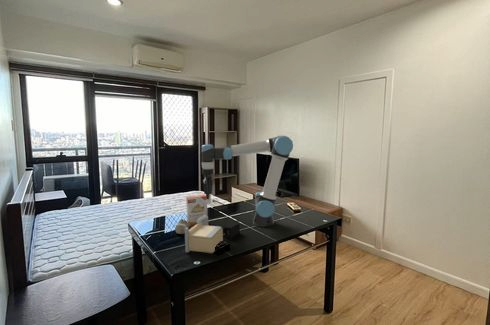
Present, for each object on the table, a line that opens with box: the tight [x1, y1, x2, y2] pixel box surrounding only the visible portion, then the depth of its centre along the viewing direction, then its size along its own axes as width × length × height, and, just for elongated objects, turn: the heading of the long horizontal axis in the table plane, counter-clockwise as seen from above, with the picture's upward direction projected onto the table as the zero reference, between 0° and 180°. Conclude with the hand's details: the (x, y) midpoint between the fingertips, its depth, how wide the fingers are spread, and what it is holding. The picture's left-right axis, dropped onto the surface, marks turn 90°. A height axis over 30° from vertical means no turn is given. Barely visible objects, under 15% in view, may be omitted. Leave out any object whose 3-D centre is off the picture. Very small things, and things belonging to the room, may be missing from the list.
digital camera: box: [223, 221, 241, 240], centre depth 164 cm, size 10×5×7 cm, turn 147°
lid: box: [189, 222, 223, 239], centre depth 148 cm, size 14×16×3 cm
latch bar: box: [196, 213, 208, 223], centre depth 159 cm, size 2×12×2 cm, turn 165°
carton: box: [184, 215, 224, 254], centre depth 152 cm, size 15×28×14 cm, turn 165°
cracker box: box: [185, 194, 208, 227], centre depth 183 cm, size 14×6×21 cm, turn 114°
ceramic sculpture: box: [174, 218, 193, 235], centre depth 171 cm, size 11×9×15 cm
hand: (208, 203), depth 169 cm, fingers closed
